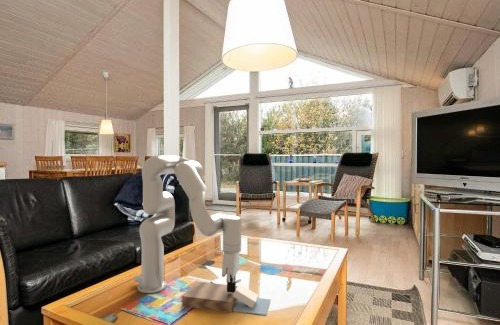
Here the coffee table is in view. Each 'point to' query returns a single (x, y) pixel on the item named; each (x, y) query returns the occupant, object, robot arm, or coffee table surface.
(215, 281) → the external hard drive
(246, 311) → the mat
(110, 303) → the coffee table surface
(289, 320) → the coffee table surface
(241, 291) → the white rectangular block
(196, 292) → the block
